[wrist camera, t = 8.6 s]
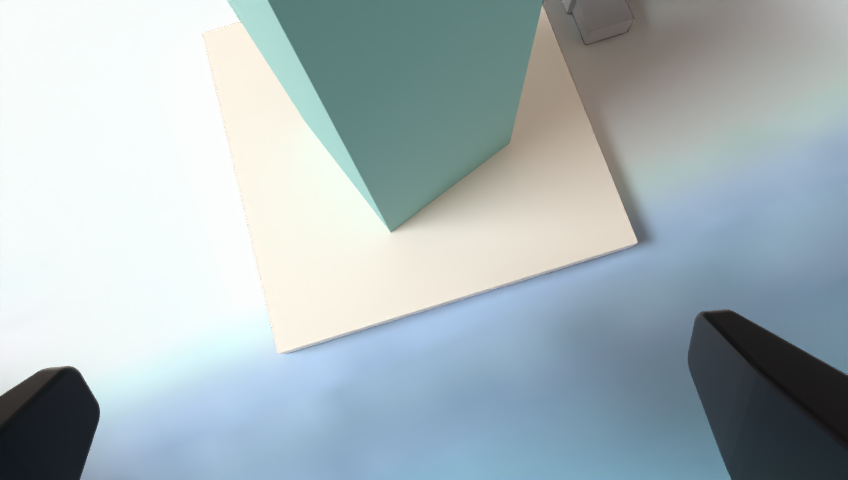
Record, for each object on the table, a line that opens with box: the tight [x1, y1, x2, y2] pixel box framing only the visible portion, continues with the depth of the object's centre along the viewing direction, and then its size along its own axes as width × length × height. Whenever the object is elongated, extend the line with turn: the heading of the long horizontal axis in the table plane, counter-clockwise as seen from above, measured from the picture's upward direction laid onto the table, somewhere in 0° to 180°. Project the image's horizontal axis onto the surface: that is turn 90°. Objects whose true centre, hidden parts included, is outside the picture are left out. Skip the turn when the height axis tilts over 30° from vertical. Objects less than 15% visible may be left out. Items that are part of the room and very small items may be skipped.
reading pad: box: [203, 4, 638, 354], centre depth 19 cm, size 12×12×1 cm
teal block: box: [227, 0, 543, 232], centre depth 13 cm, size 5×5×12 cm
